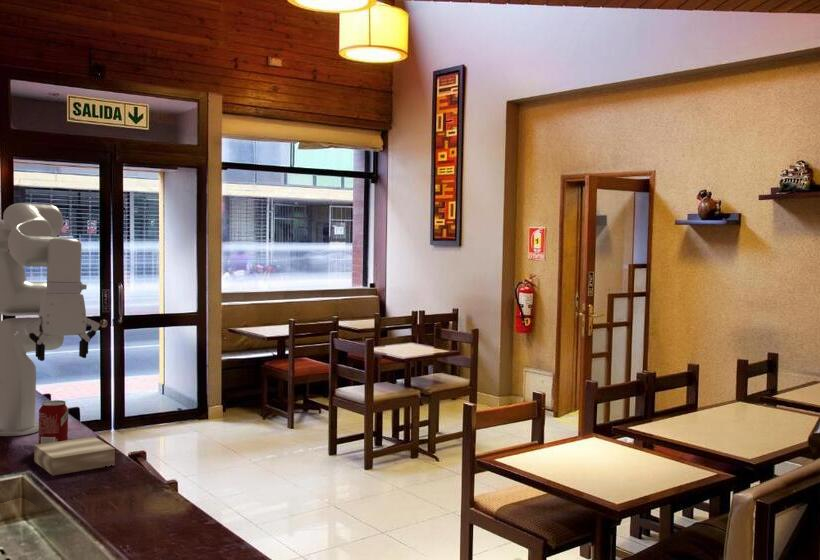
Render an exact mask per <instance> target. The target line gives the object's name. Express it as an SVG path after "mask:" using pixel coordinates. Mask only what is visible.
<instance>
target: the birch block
mask: <svg viewBox="0 0 820 560" xmlns="http://www.w3.org/2000/svg"><path fill="white" fill-rule="evenodd" d="M33 449H34V450H33V453H34V457H33V458H34V459H33V462H34V463H35V464H37V465H38V466H39V467H40V468H42V469H43V470H44V471H46V472H47V473H48V474H49V475H51V476H58V475H59V476H60V475H65V474H70V473H77V472H82V471H88V470H93V469H94V470H95V469H98V468H99V469H102V468H105V466H107V467H111V465H112V466H116V463H115V462H116V460H115V459H116V448H115V447H113V446H111V445H110V444H107V443H106V442H104V441H103V440H101V439H99V438H97V437H96V436H88V437H82V438H75V439H68V440H66V441H59V442H52V443H45V444H39V443H38V444H34V447H33Z"/></svg>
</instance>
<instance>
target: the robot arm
mask: <svg viewBox="0 0 820 560" xmlns="http://www.w3.org/2000/svg"><path fill="white" fill-rule="evenodd" d="M2 218H3V219H0V314H1V315H4V316H7V317H8V316H9V317H10V318H5V319H3V320H0V437H19V436H25V435H30V434H34V433H39V422H36V407H37V406H36V405H37V403H36V401H37V400H36V399H37V396H36V395H37V394H36V393H37V392H36V391H37V368H36V365H35V362H34V361H33V360H32V359H31V358H30V357H29V356H28V354H27V353H31V352H35V357H36V358H37V360H38V361H40V362H44V361H45V359H46V358H45V356H46V355H45V354H46V353H45V352H46V351H53V350H58V349H60V348H61V347H62V345H63V343H64V340H65V336H78V337H79V338H80V339H81V340H79V343H78V345H79V346H78V348H79V350H78V352H79V353H78V356H79V357H81V358H82V359H87V355H88V354H89V342H91V339H92V338H94V336H95V335H96V334H97V332H98V330H99V328H100V326H101V323H99V322H98V321H95V320H92V319H91V318H88V317H87V312H86V304H85V303H86V302H85V298H84V294H82V291H84V290H87V284H86V283H83V282H82V250H83V249H82V242H81V241H80V240H79V239H76V238H70V237H65V236H64V237H63V236H59V234H60V233H61V231H62V228H63V226H64V217H63V214H62V212H61V210H60V209H59V208H58V207H57V206H55V205H52V204H43V203H30V202H29V203H28V202H17V203H13V204H10V205H9V206H8V207H6V209H5V210H4V211H3V215H2ZM25 267H46V281H45V282H44V281H43V282H41V281H39V282H37V281H28V280H27V277H26V272H25V271H26V270H25ZM14 316H15V317H14ZM16 316H17V317H16ZM19 316H20V317H19ZM22 316H35V317H22ZM87 324H88V325H89V326H91V328H90V329H89V331H88V332H87V333H86V331H87Z"/></svg>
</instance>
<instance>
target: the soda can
mask: <svg viewBox="0 0 820 560" xmlns="http://www.w3.org/2000/svg"><path fill="white" fill-rule="evenodd" d="M66 403H67V402H66V400H59V399H58V400H57V399H56V400H55V399H54V400H53V399H52V400H46V401H42V402H41V407H40V408H39V409H38V423H39V431H38V444H45V443H52V442H59V441H66V440H69V437H68V436H69V408H68V406H67V405H66Z"/></svg>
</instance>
